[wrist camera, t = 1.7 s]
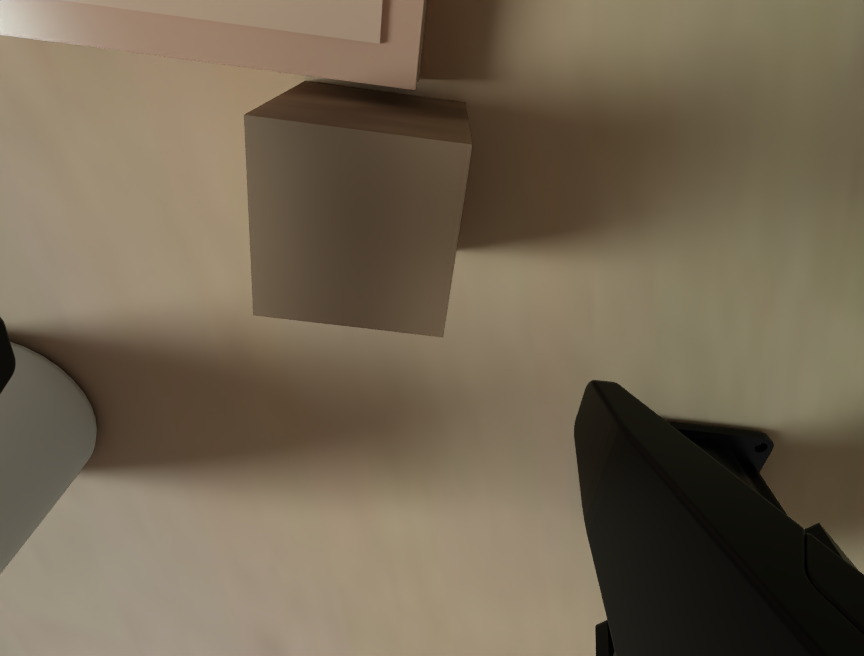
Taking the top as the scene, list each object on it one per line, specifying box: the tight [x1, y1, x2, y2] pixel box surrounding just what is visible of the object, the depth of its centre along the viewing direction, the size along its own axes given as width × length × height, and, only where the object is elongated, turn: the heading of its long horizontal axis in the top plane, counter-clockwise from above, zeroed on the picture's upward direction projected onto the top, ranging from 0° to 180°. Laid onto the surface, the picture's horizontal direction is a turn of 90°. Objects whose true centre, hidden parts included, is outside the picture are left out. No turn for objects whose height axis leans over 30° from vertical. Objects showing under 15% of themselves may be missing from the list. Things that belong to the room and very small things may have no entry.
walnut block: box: [244, 81, 473, 337], centre depth 16 cm, size 5×5×6 cm
